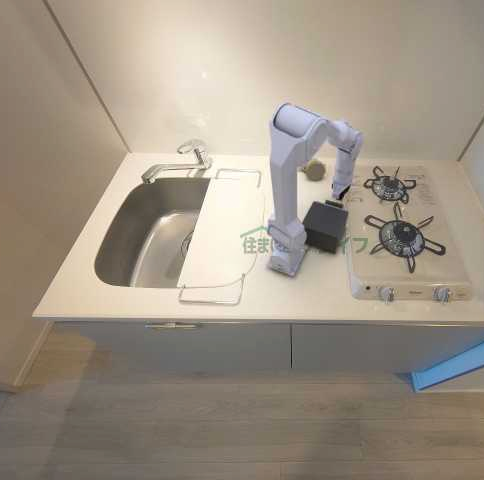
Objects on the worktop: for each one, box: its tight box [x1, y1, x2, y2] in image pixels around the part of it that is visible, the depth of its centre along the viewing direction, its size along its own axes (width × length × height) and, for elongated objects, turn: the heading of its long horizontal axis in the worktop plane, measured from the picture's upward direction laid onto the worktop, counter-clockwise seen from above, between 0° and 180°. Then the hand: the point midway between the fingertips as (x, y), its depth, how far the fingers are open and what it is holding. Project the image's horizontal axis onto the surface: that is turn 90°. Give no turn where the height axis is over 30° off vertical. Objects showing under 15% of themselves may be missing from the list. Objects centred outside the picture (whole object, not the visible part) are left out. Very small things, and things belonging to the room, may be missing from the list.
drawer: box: [315, 199, 349, 212], centre depth 84 cm, size 13×10×7 cm
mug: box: [301, 157, 326, 181], centre depth 100 cm, size 8×10×10 cm
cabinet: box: [301, 200, 350, 255], centre depth 82 cm, size 11×12×9 cm
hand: (339, 199), depth 90 cm, fingers closed
